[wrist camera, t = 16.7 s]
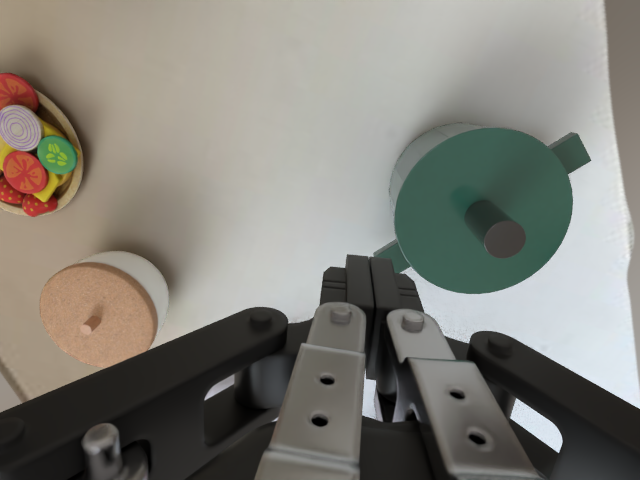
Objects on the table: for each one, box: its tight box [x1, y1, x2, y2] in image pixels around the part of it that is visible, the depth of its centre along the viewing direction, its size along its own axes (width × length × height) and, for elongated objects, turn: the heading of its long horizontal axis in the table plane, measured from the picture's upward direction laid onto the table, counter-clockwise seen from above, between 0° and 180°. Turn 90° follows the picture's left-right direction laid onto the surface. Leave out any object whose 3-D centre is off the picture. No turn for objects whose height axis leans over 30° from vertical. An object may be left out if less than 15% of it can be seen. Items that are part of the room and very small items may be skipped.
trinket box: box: [40, 251, 169, 367], centre depth 41 cm, size 11×11×9 cm
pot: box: [373, 123, 591, 273], centre depth 36 cm, size 12×17×8 cm
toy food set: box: [0, 73, 83, 217], centre depth 40 cm, size 13×13×3 cm
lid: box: [394, 127, 573, 294], centre depth 30 cm, size 13×13×6 cm
